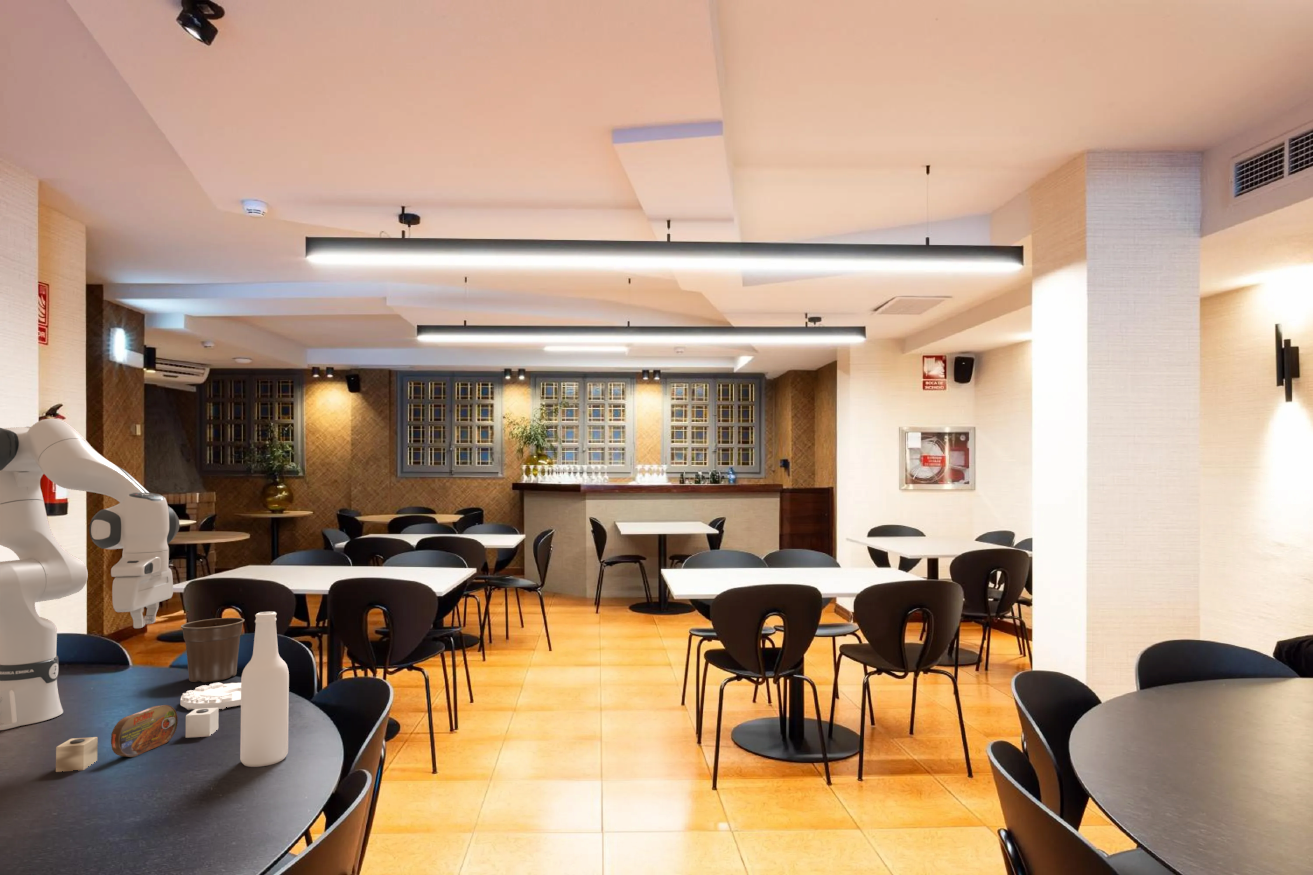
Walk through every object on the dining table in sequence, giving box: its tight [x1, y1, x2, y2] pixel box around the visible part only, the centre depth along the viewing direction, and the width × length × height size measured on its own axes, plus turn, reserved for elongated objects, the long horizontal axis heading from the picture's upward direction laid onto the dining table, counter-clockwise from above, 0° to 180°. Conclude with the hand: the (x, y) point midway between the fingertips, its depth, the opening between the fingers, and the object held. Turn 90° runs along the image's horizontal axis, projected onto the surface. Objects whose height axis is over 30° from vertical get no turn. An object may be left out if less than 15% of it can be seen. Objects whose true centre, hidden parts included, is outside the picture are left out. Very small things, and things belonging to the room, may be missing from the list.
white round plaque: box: [180, 681, 241, 711], centre depth 203 cm, size 20×20×3 cm
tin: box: [110, 704, 179, 758], centre depth 166 cm, size 15×3×8 cm, turn 168°
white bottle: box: [239, 611, 290, 768], centre depth 160 cm, size 9×9×30 cm
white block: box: [185, 708, 220, 739], centre depth 177 cm, size 5×5×5 cm
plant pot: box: [180, 617, 245, 683], centre depth 227 cm, size 16×16×16 cm
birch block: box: [55, 736, 99, 773], centre depth 157 cm, size 5×5×5 cm
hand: (144, 625), depth 175 cm, fingers open, 3 cm apart
